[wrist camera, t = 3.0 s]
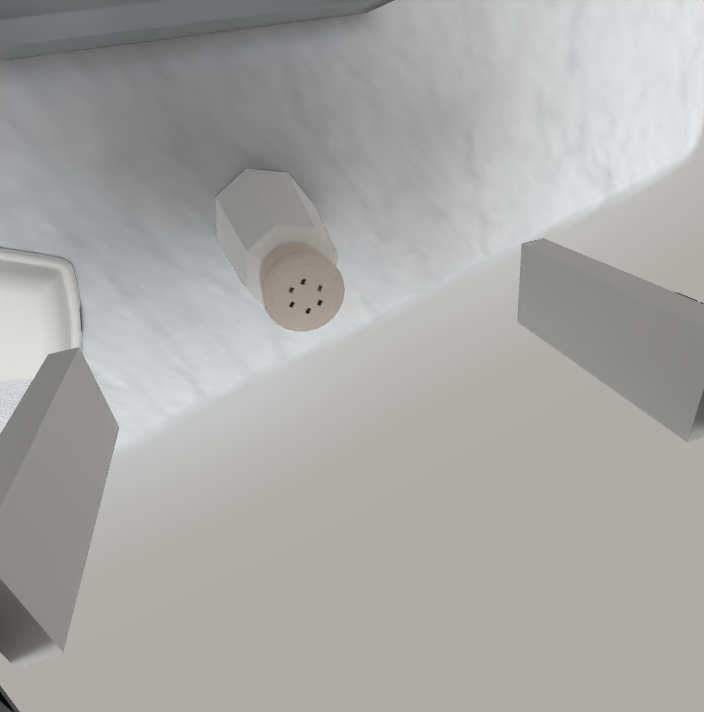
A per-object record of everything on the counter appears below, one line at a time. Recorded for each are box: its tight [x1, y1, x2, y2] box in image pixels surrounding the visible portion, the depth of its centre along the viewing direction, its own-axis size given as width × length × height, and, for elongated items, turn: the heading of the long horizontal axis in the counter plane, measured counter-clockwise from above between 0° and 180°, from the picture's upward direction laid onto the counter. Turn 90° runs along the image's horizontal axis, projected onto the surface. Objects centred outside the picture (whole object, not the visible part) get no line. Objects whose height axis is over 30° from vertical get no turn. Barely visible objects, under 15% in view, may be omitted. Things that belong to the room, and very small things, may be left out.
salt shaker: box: [216, 169, 345, 331], centre depth 20 cm, size 5×5×11 cm
